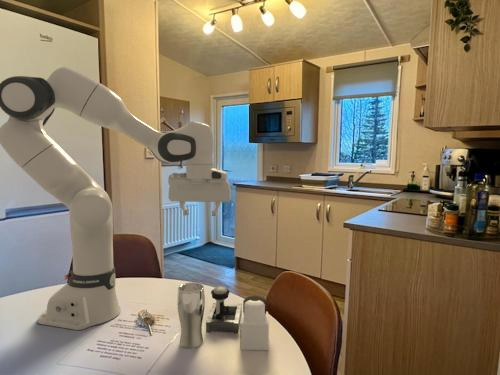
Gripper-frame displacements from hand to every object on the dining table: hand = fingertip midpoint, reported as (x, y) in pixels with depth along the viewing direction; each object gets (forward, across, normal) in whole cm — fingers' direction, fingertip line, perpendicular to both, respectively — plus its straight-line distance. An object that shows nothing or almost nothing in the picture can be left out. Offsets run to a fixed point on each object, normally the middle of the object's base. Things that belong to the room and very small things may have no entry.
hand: (200, 215), depth 110 cm
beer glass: (+29, +2, -25) cm, 39 cm away
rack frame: (+29, +10, -14) cm, 34 cm away
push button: (+29, +8, -14) cm, 33 cm away
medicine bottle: (+29, +19, -24) cm, 42 cm away
